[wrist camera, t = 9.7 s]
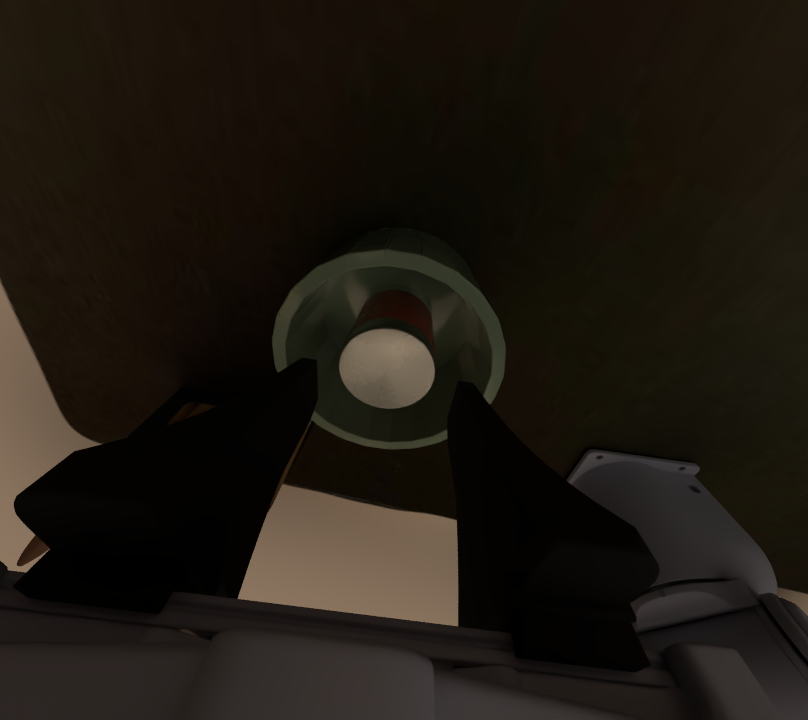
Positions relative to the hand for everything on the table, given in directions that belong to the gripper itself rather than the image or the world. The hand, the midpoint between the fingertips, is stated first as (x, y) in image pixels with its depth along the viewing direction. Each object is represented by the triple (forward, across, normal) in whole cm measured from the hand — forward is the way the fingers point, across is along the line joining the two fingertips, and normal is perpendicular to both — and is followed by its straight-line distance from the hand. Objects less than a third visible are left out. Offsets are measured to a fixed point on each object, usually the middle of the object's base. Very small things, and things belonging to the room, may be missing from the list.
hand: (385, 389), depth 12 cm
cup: (+8, 0, 0) cm, 8 cm away
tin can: (+7, 0, 0) cm, 7 cm away
